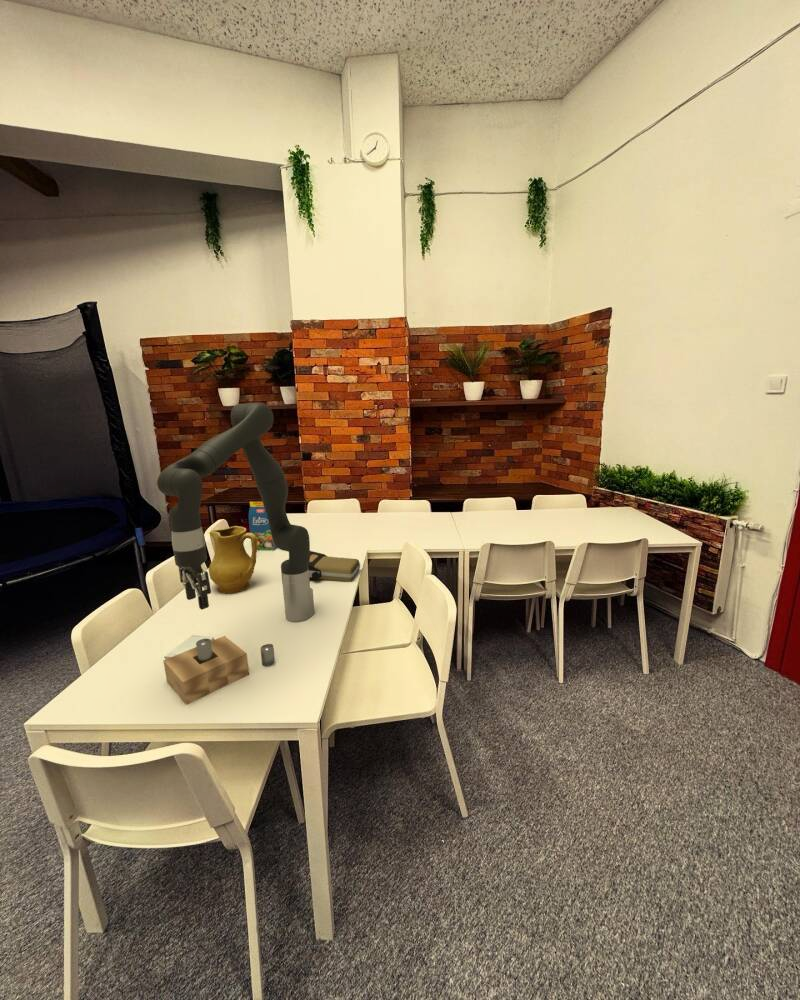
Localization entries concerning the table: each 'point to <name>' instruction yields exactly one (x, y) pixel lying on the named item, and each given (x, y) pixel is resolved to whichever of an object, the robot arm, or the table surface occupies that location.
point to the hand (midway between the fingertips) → (197, 603)
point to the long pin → (204, 650)
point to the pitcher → (232, 559)
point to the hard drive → (187, 645)
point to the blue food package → (260, 526)
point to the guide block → (206, 670)
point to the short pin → (267, 655)
